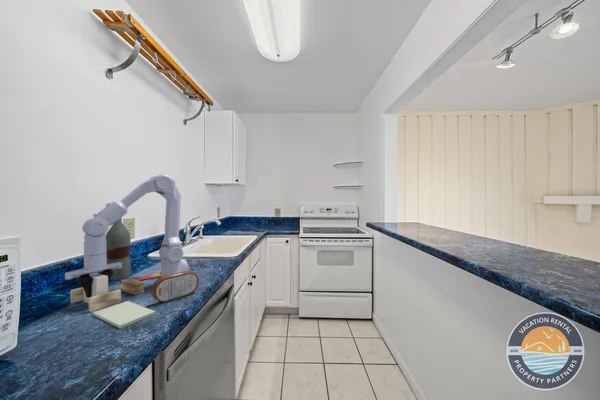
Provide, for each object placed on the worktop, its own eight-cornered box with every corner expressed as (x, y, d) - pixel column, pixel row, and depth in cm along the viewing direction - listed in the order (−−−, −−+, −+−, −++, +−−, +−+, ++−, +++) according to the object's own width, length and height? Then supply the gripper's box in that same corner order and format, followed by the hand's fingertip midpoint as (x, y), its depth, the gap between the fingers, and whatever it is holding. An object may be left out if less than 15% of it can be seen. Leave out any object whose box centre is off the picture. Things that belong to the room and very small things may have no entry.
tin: (195, 290, 88) (195, 267, 88) (200, 292, 86) (199, 269, 86) (150, 304, 76) (150, 278, 76) (154, 306, 74) (154, 279, 74)
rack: (100, 294, 86) (100, 283, 86) (120, 302, 78) (120, 290, 78) (70, 302, 79) (70, 290, 79) (90, 312, 71) (90, 298, 71)
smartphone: (120, 281, 101) (120, 279, 101) (160, 274, 111) (160, 271, 111) (120, 286, 95) (120, 283, 95) (163, 277, 105) (163, 275, 105)
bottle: (104, 277, 106) (104, 210, 106) (129, 273, 112) (129, 210, 112) (105, 282, 99) (105, 211, 99) (132, 277, 105) (131, 210, 106)
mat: (127, 303, 77) (127, 301, 77) (155, 314, 69) (155, 311, 69) (93, 315, 69) (93, 312, 69) (119, 328, 61) (119, 325, 61)
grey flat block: (94, 298, 82) (94, 272, 82) (108, 303, 77) (107, 276, 77) (83, 301, 79) (83, 274, 80) (96, 307, 75) (96, 278, 75)
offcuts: (130, 287, 92) (130, 278, 92) (145, 292, 87) (145, 282, 87) (120, 290, 89) (120, 280, 89) (135, 295, 84) (135, 285, 84)
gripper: (115, 249, 87) (115, 286, 87) (61, 257, 74) (61, 300, 74) (124, 250, 83) (125, 289, 83) (69, 259, 71) (69, 305, 71)
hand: (95, 294), depth 78 cm, fingers closed on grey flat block, 3 cm apart
